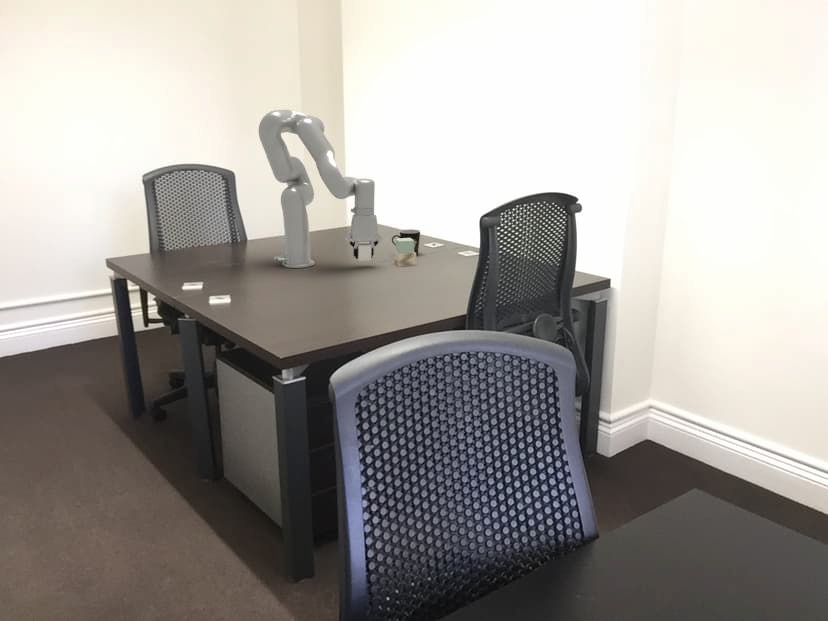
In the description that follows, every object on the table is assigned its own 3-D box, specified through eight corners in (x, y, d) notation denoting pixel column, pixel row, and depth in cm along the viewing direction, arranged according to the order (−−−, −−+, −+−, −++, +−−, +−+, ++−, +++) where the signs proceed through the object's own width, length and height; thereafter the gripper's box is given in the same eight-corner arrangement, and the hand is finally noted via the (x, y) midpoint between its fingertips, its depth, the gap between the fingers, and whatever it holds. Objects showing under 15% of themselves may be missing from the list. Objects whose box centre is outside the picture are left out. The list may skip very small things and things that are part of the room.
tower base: (399, 266, 287) (398, 254, 285) (394, 262, 293) (394, 250, 292) (416, 265, 289) (416, 253, 287) (411, 261, 295) (411, 249, 294)
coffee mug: (421, 252, 310) (421, 229, 308) (419, 257, 302) (419, 233, 299) (394, 252, 312) (393, 229, 309) (391, 256, 303) (391, 233, 300)
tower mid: (399, 254, 286) (399, 241, 285) (395, 250, 292) (395, 238, 290) (414, 253, 287) (414, 240, 286) (410, 249, 293) (410, 237, 292)
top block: (358, 260, 282) (358, 245, 280) (355, 257, 287) (356, 242, 285) (371, 260, 283) (371, 245, 282) (368, 257, 288) (368, 242, 286)
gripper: (344, 213, 274) (343, 260, 279) (388, 213, 278) (386, 259, 284) (340, 210, 281) (340, 256, 286) (383, 209, 285) (382, 255, 291)
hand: (363, 257), depth 285 cm, fingers closed on top block, 4 cm apart
